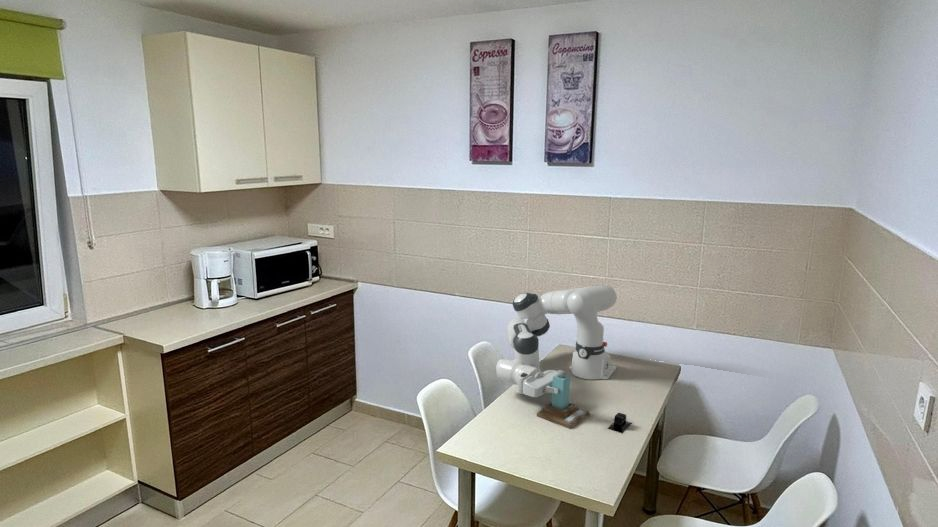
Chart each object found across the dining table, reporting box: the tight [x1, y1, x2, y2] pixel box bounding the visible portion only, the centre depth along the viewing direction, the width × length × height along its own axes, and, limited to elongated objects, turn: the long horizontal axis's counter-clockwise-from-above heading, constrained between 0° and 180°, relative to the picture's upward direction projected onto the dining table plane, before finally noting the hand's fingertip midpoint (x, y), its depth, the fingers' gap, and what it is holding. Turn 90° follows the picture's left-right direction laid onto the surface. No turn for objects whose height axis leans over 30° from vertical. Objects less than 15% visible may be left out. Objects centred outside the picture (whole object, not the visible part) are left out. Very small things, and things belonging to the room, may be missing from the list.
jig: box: [536, 400, 591, 430], centre depth 199 cm, size 14×14×4 cm
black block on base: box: [607, 412, 633, 434], centre depth 191 cm, size 12×7×5 cm, turn 143°
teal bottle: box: [551, 369, 571, 410], centre depth 198 cm, size 4×4×14 cm
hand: (562, 388), depth 197 cm, fingers closed on teal bottle, 4 cm apart
